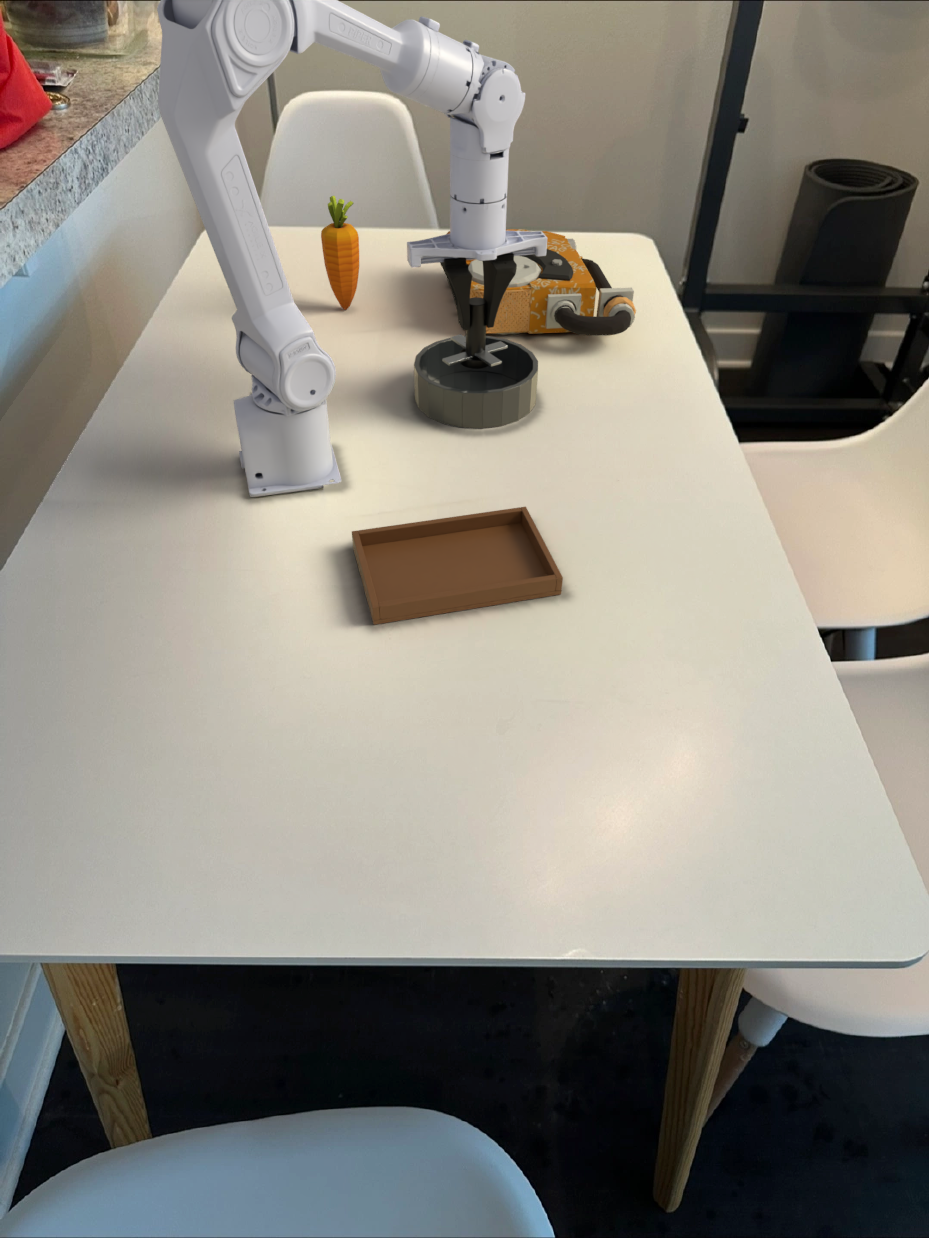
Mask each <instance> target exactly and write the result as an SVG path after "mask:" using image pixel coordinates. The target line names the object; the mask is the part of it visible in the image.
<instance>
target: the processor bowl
mask: <svg viewBox="0 0 929 1238" xmlns="http://www.w3.org/2000/svg"><path fill="white" fill-rule="evenodd" d="M463 336H464V337H466V335H463ZM499 341H501V342H503V343H504V344H506V345H507V346H508V348H506V349H503V350H500V351H496V352H493V353H491V354H492V355H493V356H495V357H496V358H498V359H499V360H501V361H502V363H501V364H498V365H495V366H492V367H491V366H490V365H489V366H487V367H485V368H480V369H472V368H467V367H464V366H462V365H461V364H460V363H457V364H454V365H451V366H449V365H447V364H446V363H444V362H443V361H442V359H443V358H446V357H450V356H453V355H456V354H459V353H460V351H461V350H462V349H464V348H463V347H461V346H460V345H458V344H457V343H455V342H454V341H452V340H451V337H448V338H443V339H440V340H437V341H434V342H432V343H430V344H428V345H426V346H424V347H423V348H422V349H421V350H420V351H419V352H418V353H417V354H416V355H415V358H414V363H413V381H414V383H413V385H414V400H415V404H416V405H417V408H418V409H419V410H420V411H421V412H422V413H423V415H425V416H427V417H428V418H429V419H431V420H434V421H435V422H438V423H440V424H443V425H446V426H450V427H455V428H460V429H473V430H477V429H478V430H485V429H494V428H499V427H505V426H508V425H511V424H513V423H517V422H518V421H520V420H522V419H524V418H526V417H527V416H528V415H529V414H530V413H531V412H532V411H533V409H534V408H535V406H536V404H537V390H538V376H539V361H538V359H537V357H536V355H535V354H534V353H533V352H532V350H530V349H528V348H527V347H526V346H524V345H523V344H521V343H519V342H515V341H512V340H510V339H507V338H502V337H497V336H492V335H486V345H489V344H493V343H496V342H499Z"/></svg>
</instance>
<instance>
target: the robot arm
mask: <svg viewBox="0 0 929 1238" xmlns="http://www.w3.org/2000/svg"><path fill="white" fill-rule="evenodd" d="M156 11H157V15H158V21H159V25H160V29H161V48H160V64H159V77H158V79H159V80H158V94H157V95H158V96H157V101H158V102H157V105H158V110H159V112H160V114H159V115H160V117H161V120H162V122H163V125H164V127H165V130H166V132H167V135H168V138H169V140H170V142H171V146H172V148H173V150H174V153H175V156H176V158H177V160H178V163H179V165H180V169H181V171H182V173H183V176H184V178H185V181H186V183H187V186H188V189H189V191H190V194H191V196H192V199H193V202H194V204H195V206H196V208H197V211H198V214H199V217H200V220H201V221H202V224H203V226H204V230H205V233H206V234H207V237H208V240H209V242H210V244H211V247H212V250H213V252H214V254H215V255H214V256H215V257H216V260H217V262H218V265H219V268H220V270H221V273H222V276H223V277H224V281H225V283H226V285H227V288H228V291H229V293H230V296H231V298H232V300H233V303H234V306H235V308H236V310H235V312H234V313H233V314H232V316H231V321H232V323H233V326H234V329H235V334H236V341H235V355H236V359H237V360H238V364H239V365H240V366H241V367H242V369H244V371H245V372H246V373H249V374H250V376H251V377H250V378H251V383H252V384H251V394H248V395H245V396H243V397H242V396H241V397H239V398H235V399H233V409H234V415H235V420H236V427H237V432H238V438H239V443H240V449H241V450H238V454H239V461H240V462H239V463H240V467H241V469H244V471H245V478H246V483H247V488H248V494H249V497H251V498H256V497H257V498H258V497H263V496H265V497H266V496H270V495H272V496H273V495H279V494H287V493H293V492H303V491H310V490H316V489H324V486H328V485H334V484H335V485H336V484H340V483H341V482H342V477H341V473H340V470H339V466H338V462H337V459H336V454H335V452H334V451H335V450H334V448H333V445H332V441H331V430H330V421H329V420H330V419H329V412H328V411H329V410H328V402H327V398H328V397H329V395H330V394H331V393H332V390H333V388H334V386H335V383H336V378H337V375H336V374H337V369H336V365H335V362H334V360H333V358H332V357H331V356H330V354H329V353H328V352H327V351H325V350H324V348H322V347H321V346H320V344H319V342H318V340H317V338H316V335H315V332H314V330H313V328H312V327H311V325H310V323H309V322H308V320H307V319H306V317H305V316H304V314H303V313H302V312H301V310H300V308H299V307H298V305H297V304H296V303H295V301H294V300H295V299H294V297H293V295H292V292H291V288H290V286H289V282H288V279H287V275H286V274H285V271H284V268H283V265H282V260H281V258H280V256H279V253H278V250H277V247H276V244H275V240H274V238H273V234H272V232H271V229H270V226H269V223H268V220H267V218H266V215H265V211H264V209H263V205H262V202H261V199H260V197H259V194H258V191H257V188H256V185H255V181H254V179H253V175H252V172H251V170H250V168H249V167H250V166H249V164H248V161H247V158H246V156H245V152H244V149H243V146H242V143H241V141H240V137H239V134H238V131H237V128H236V121H237V119H238V117H239V115H240V113H241V111H242V109H243V108H244V105H245V103H246V102H247V100H248V99H250V97H252V95H253V94H254V93H255V92H256V91H257V90H258V89H259V88H260V86H262V85H263V83H264V82H266V80H267V79H268V78H269V77H270V76H271V75H272V74H273V73H274V72H275V71H276V70H277V69H278V68H279V66H280V65H281V64H282V63H283V61H284V60H285V59H286V57H287V56H288V54H289V52H291V53H294V54H296V55H300V54H302V53H304V52H305V51H306V50H307V49H309V48H310V47H311V46H312V45H313V44H317V45H319V46H322V47H324V48H327V49H330V50H333V51H335V52H337V53H340V54H342V55H345V56H348V57H350V58H353V59H355V60H357V61H360V62H363V63H366V64H368V65H371V66H373V67H375V68H378V69H379V71H380V75H381V77H382V80H383V83H384V85H385V87H386V88H387V89H388V90H389V91H390V92H391V93H392V94H395V95H398V96H400V97H403V98H405V99H408V100H410V101H411V102H415V103H417V104H419V105H422V106H424V107H427V108H429V109H432V110H434V111H436V112H438V113H442V114H443V115H444V116H445V117H447V118H449V231H450V234H447V233H446V234H442V235H437V236H434V237H433V236H432V237H428V238H424V239H420V240H414V241H407V242H406V254H407V255H406V259H407V260H406V261H407V262H408V264H409V266H410V268H420V267H422V265H428V264H440V266H441V268H442V270H443V273H444V275H445V277H446V279H447V282H448V285H449V288H450V290H451V292H452V296H453V300H454V304H455V308H456V313H457V319H458V320H457V321H458V324H459V326H460V328H461V330H462V331H466V330H469V327H470V308H469V301H470V289H471V282H472V274H471V273H470V271H469V270H468V266H469V265H468V264H467V263H466V260H475V259H477V260H479V261H483V275H484V295H483V299H485V300H486V301H487V313H486V326H487V327H488V328H491V327H494V322H495V318H496V315H497V311H498V308H499V305H500V302H501V300H502V297H503V295H504V293H505V291H506V289H507V287H508V285H509V284H510V282H511V280H512V279H513V277H514V276H515V274H516V269H517V264H516V263H515V261H514V256H520V255H532V254H535V255H536V256H546V250H547V237H546V236H545V234H544V233H543V232H542V231H543V230H535V231H532V230H529V231H506V229H507V212H508V210H507V208H508V187H509V165H510V163H509V161H510V160H509V159H510V148H511V146H512V145H511V143H513V142H514V130H515V126H516V124H517V122H518V120H519V118H520V116H521V115H522V112H523V109H524V107H525V106H524V105H525V101H526V92H523V90H522V86H521V81H520V79H519V76H518V74H517V73H515V72H516V69H515V68H514V67H513V65H511V64H510V63H508V62H507V61H504V60H501V59H497V58H494V57H491V56H487V55H485V54H481V53H480V52H479V50H480V45H479V44H478V43H477V42H474V41H472V40H470V39H469V40H468V39H463V41H462V42H461V41H458V40H457V39H454V38H452V37H450V36H448V35H446V34H444V33H443V32H440V31H439V30H440V27H441V24H440V22H438V21H436V20H434V19H432V18H429V17H427V16H422V15H420V16H419V19H418V21H417V20H415V19H411V18H408V19H404V20H403V21H401V22H399V23H398V24H396V25H394V26H393V27H389V26H388V25H386V24H384V23H382V22H380V21H378V20H376V19H374V18H373V17H370V16H368V15H367V14H365V13H363V12H361V11H359V10H357V9H355V8H353V7H352V6H349V5H347V4H345V3H344V2H341V0H160V1H159V3H158V5H157V7H156Z"/></svg>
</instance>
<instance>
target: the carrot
mask: <svg viewBox="0 0 929 1238" xmlns="http://www.w3.org/2000/svg"><path fill="white" fill-rule="evenodd" d="M353 205H354V201H352V200H350V201H348V202H347V203H346V204H345V199H343V198H338V201H337V197H336V195H331V196H330V197H329V202H327V209H328V212H329V215H330V218H331V219H332V222H331V223H329V224H328V225H326V226H324V227H323V228H322V229H321V232H320V239H321V247H322V248H321V249H322V255H323V262H324V268H325V272H326V275H327V279H328V282H329V286H330V289H331V290H332V293H333V295H334V298H335V299H336V300H337V302H338V304H339V305H340V307H341V308H342V309H343V310H344V311H347V310H348V309H349V308H350V307H351V304H352V302H353V300H354V299H355V294H356V292H357V288H358V281H359V272H360V237H359V233H358V231H357V230H356V229H357V228H355V227H354V226H353V225H352V224H351V223H347V222H346V221H347V219H348V218H349V216H348V215H346V214H347V212H348V210H349V209H350V208H351V207H352V206H353Z"/></svg>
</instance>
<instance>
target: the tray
mask: <svg viewBox="0 0 929 1238" xmlns="http://www.w3.org/2000/svg"><path fill="white" fill-rule="evenodd" d="M351 538H352V539H351V541H352V549H353V553H354V556H355V561H356V565H357V567H358V572H359V575H360V577H361V578H360V579H361V583H362V587H363V590H364V594H365V597H366V601H367V605H368V609H369V613H370V616H371V620H372V623H373V625H381V624H386V623H387V624H388V623H392V622H393V623H394V622H400V621H405V620H411V619H417V618H424V617H429V616H430V617H431V616H436V615H441V614H442V615H443V614H449V613H454V612H455V613H456V612H461V611H466V610H473V609H480V608H485V607H490V606H497V605H503V604H509V603H515V602H522V601H527V600H528V601H529V600H535V599H540V598H541V599H542V598H547V597H553V596H558V595H562V590H563V579H564V577H563V575H562V573H561V571H560V569H559V568H558V565H557V563H556V562H555V560H554V558H553V556H552V554H551V552H550V550H549V548H548V546H547V544H546V543H545V542H546V541H544V538H543V536H542V535H541V533H540V531H539V529H538V527H537V525H536V523H535V521H534V519H533V517H532V515H531V513H530V511H529V509H528V508H527V506H520V507H513V508H506V509H499V510H492V511H485V512H477V513H470V514H464V515H456V516H449V517H442V518H435V519H429V520H422V521H421V520H420V521H415V522H407V523H401V524H394V525H393V524H392V525H387V526H379V527H371V528H366V529H365V528H364V529H359V530H352V531H351Z"/></svg>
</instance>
